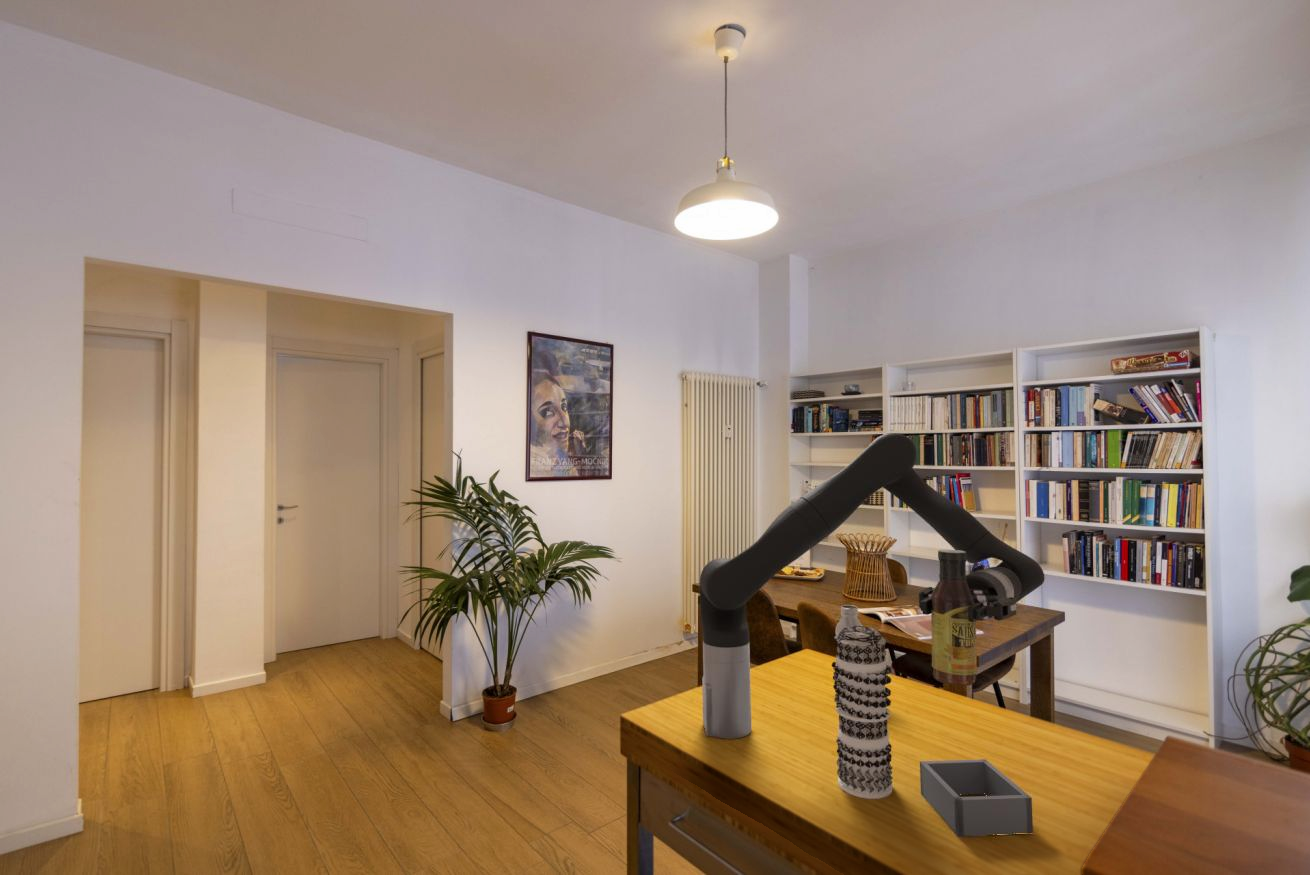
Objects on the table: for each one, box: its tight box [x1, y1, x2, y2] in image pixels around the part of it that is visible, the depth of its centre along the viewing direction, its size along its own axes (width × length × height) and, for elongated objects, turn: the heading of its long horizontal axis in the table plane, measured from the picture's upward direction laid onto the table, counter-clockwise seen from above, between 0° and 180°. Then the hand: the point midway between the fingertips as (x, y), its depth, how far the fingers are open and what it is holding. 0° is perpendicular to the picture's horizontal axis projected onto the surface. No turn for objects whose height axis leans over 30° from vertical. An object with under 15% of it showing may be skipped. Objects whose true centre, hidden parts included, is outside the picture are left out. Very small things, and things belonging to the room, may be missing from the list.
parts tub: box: [919, 758, 1034, 838], centre depth 94 cm, size 11×12×5 cm
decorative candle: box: [831, 625, 893, 800], centre depth 103 cm, size 9×9×25 cm
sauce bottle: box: [930, 549, 978, 687], centre depth 98 cm, size 6×6×20 cm
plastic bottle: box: [834, 604, 863, 688], centre depth 141 cm, size 6×7×20 cm
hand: (947, 611), depth 96 cm, fingers closed on sauce bottle, 6 cm apart
